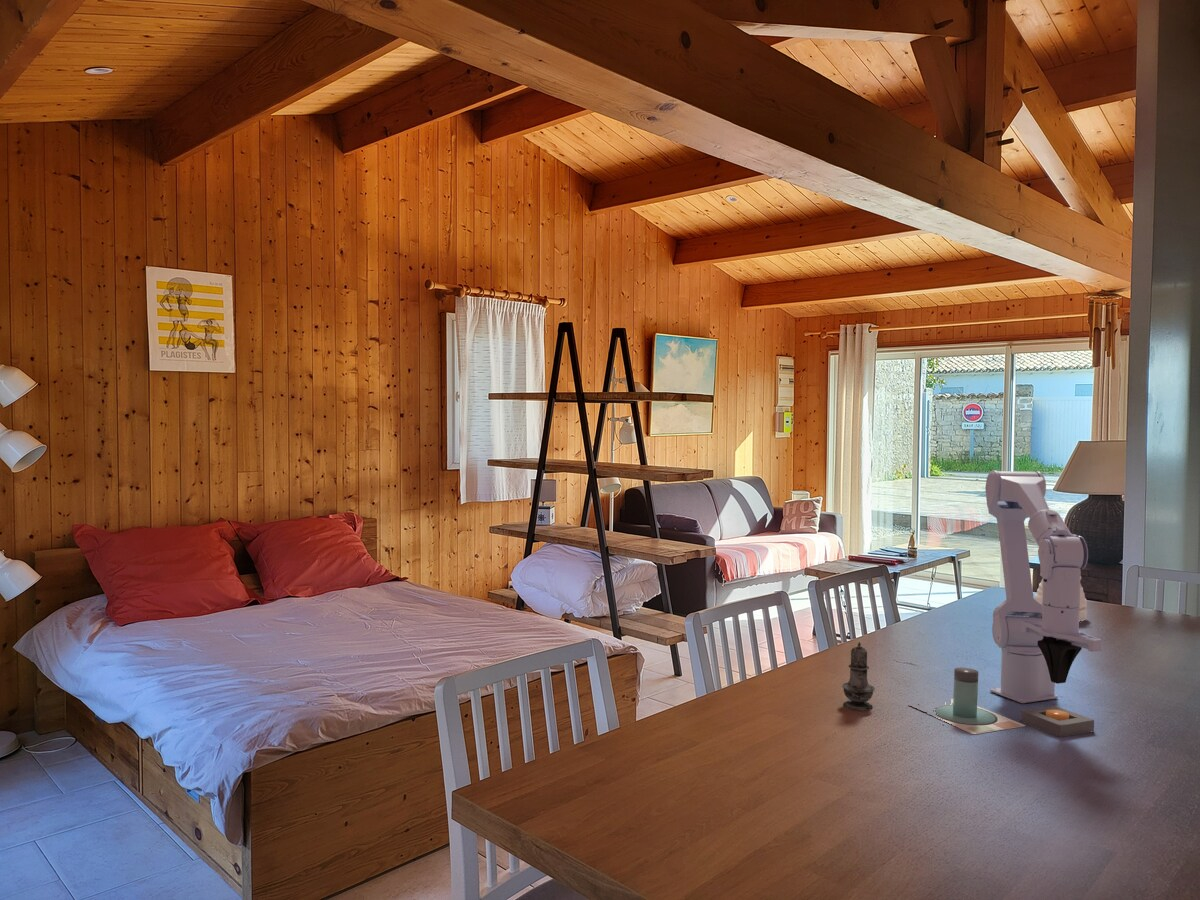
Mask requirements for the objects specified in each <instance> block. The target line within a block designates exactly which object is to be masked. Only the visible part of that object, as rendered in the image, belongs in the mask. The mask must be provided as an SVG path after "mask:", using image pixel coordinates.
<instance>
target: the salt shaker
mask: <svg viewBox="0 0 1200 900" xmlns="http://www.w3.org/2000/svg"><path fill="white" fill-rule="evenodd" d="M861 645H862V644H861V642H860V641H858V643H857V645H856V646H854V647H853V648H851V651H850V664H848V668H850V672H849V680H848V682H845V683H844V682H843V684H842V685H841V687H842V689H843V693H844V696H845V697H846V698H847V700H846V701H844V702H843V707H845V708H846V709H849V710H852V711H858V710H861V711H862V710H863V711H864V710H867V711H870V709H871V710H872V709H873V707H874V706H873V704H871V703H870V702H868V701H870V700H871V699H872V697H873V695H874V692H875V689H876V688H875V687H874V686H873V685H872V684H870V683H869V681H868V670H869V669H870V666H868V651H867V649H866V648H864V647H862V646H861ZM861 711H860V712H861ZM863 711H862V712H863Z"/></svg>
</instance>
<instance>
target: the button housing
mask: <svg viewBox="0 0 1200 900" xmlns="http://www.w3.org/2000/svg"><path fill="white" fill-rule="evenodd" d="M1046 710H1060V711H1064V712H1066V713H1068V714H1069V719H1067V720H1061V721H1058V720H1056V719H1053V718H1050V717H1048V716H1046ZM1020 712H1021V714H1020V723H1022V724H1023V723H1024V724H1025V725H1028V726H1031V727H1034V728H1036V729H1039V730H1041V731H1043V732H1046V733H1048V734H1050V735H1053V736H1056V737H1058V738H1062V737H1063V738H1064V737H1068V736H1073V735H1075V736H1076V735H1081V734H1086V733H1092V732H1091V731H1093V732H1095V719H1093V718H1090V717H1087V716H1085V715H1083V714H1079V713H1077V712H1074V711H1071V710H1067V709H1065V708H1063V707H1059V706H1057V705H1050V706H1043V707H1035V708H1030V709H1023V710H1021V711H1020Z"/></svg>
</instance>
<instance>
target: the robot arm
mask: <svg viewBox="0 0 1200 900" xmlns="http://www.w3.org/2000/svg"><path fill="white" fill-rule="evenodd" d="M984 489H985V490H984V491H985V499H986V506H987V509H988V514H989V515H991V516H993V517H994V518H996V522H997V530H998V535H999V537H998V538H999V545H1000V546H999V547H1000V555H1001V564H1002V572H1003V579H1004V580H1003V581H1004V590H1005V597H1006V599H1005V600H1004V601H1003V602H1001V603H1000V604H999V605H997V606H996V607H995V608H994V610H993V612H992V627H991V630H992V631H991V632H992V638H993V641H994V644H995V645H996V646H997V647H998V648H1000V649H1001V657H1000V658H1001V660H1000V661H1001V663H1000V687H994V688H990V689H989V690H990V692H991V693H994V694H996V695H999V696H1001V697H1005V698H1007V699H1009V700H1013V701H1015V702H1016V703H1017V702H1018V703H1020V704H1026V703H1028V704H1029V703H1033V702H1034V703H1035V702H1040V701H1047V700H1055V699H1058V698H1059V695H1057V694H1055V687H1056V685H1055V684H1065V683H1066V682H1067V678H1068V676H1069V673H1070V670H1071V667H1072V664H1073V662H1074V661H1075V659H1076V657H1077V656H1078V654H1079V653H1080V652H1081V651H1082V649H1086V650H1087V651H1089V652H1093V653H1094V652H1101V651H1102V639H1100V638H1098V637H1094V636H1092V635H1089V634H1087V633H1085V632H1083V631H1080V630H1079V629H1080V623H1079V606H1080V583H1081V580H1080V578H1081V579H1082V576H1081V570H1084V569H1085V568H1086V566H1087V564H1088V561H1089V560H1088V559H1089V549H1088V544H1087V542H1086V540H1085V538H1084V537H1083V536H1081V535H1077V534H1075V533H1071V531H1070V529H1069V528H1068V526H1067V524H1066V522H1064V520H1063V518H1062V516H1061V515H1060V513H1058V512H1057V511H1056V510H1053V509H1050V508H1049V505H1048V503H1047V501H1046V498H1045V495H1046V492H1047V483H1046V478H1045V476H1044V474H1043V473H1042V472H1041V471H1039V470H1035V471H1016V470H1015V471H1014V470H1013V471H1012V470H1010V471H1009V470H1008V471H1007V470H1005V471H1004V470H996V469H994V470H991V471H990V472H989V473H988V475H987V476H986V481H985V488H984ZM1027 518H1029V519H1028V522H1027V528H1028V529H1029V532H1030V533H1031V535H1032V537H1033V539H1034V540H1035V542H1036V544H1037V546H1038V550H1037V556H1038V557H1037V558H1038V561H1039V566H1040V568H1039V569H1040V571H1039V572H1040V573H1041V575H1040V576H1041V578H1043V603H1042V605H1041V604H1040V603H1039V602H1037V601H1036V600H1035V599H1034V589H1033V583H1032V582H1033V581H1032V575H1031V574H1032V573H1031V568H1030V567H1031V566H1030V558H1029V551H1028V550H1029V549H1028V543H1027V535H1026V533H1027V532H1026V527H1025V521H1026V519H1027Z"/></svg>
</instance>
